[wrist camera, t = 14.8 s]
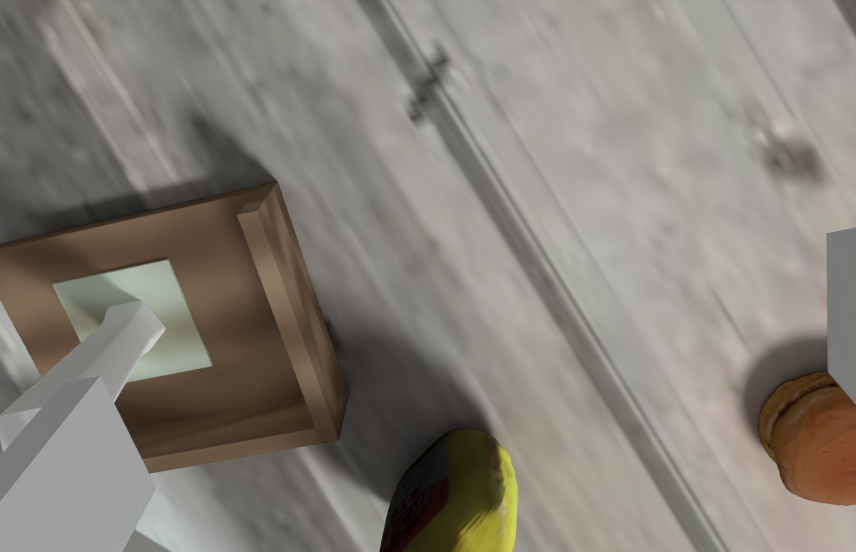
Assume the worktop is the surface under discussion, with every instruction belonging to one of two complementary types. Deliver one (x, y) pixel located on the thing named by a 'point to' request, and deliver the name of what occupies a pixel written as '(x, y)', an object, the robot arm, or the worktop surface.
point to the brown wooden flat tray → (191, 324)
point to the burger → (812, 438)
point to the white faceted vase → (91, 363)
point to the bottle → (455, 498)
